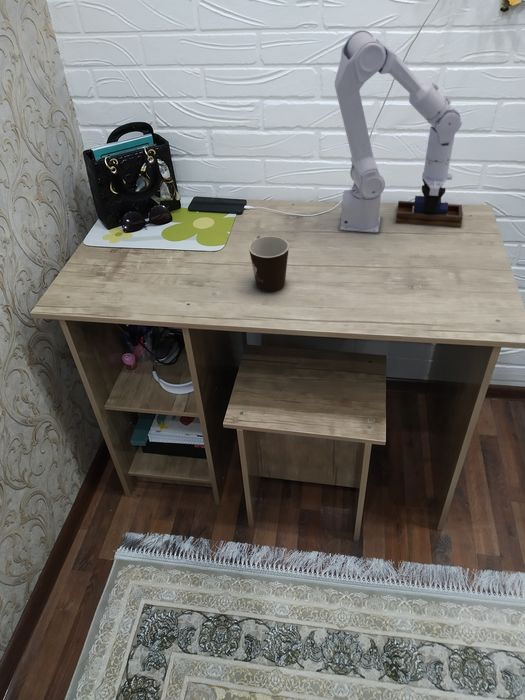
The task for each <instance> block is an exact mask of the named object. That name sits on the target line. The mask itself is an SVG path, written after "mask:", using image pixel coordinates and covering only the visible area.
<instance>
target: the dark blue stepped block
mask: <svg viewBox="0 0 525 700" xmlns="http://www.w3.org/2000/svg"><path fill="white" fill-rule="evenodd" d="M413 202H414V206H413V211H412V212H416V213H426V212H425V199H424V195H415V197H414V201H413ZM448 204H449V203H448V202H442V197H441V198H440V200H439V202H438V204H437V207H436V209H435V211H434V213H429V214H443V215H447V212H448Z"/></svg>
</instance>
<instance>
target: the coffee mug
mask: <svg viewBox="0 0 525 700" xmlns="http://www.w3.org/2000/svg"><path fill="white" fill-rule="evenodd" d="M248 249H249V251H248V252H249V254H250V255H249V256H250V262H251V265H252V266H251V267H252V270H253V276H254V279H255V285H256V288H257V289H258V290H259V291H261V292H263V293H267V294H273V293H277V292H279V291H281V290H283V289H284V287H285V284H286V277H287V268H288V260H289V259H288V258H289V249H290V244H289V241H287V240H286V239H285V238H283V237H281V236H277V235H264V236H260V235H259V236H257V237H256V238H255V239H253V240H252V241H251V242H250V243H249V245H248Z"/></svg>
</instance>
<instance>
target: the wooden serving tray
mask: <svg viewBox="0 0 525 700" xmlns="http://www.w3.org/2000/svg"><path fill="white" fill-rule="evenodd" d="M414 202H415V201H410V200H409V201H407V200H398V202H397V210H396V218H395V223H396V224H405V225H419V226H420V225H421V226H434V227H445V228H446V227H447V228H459V229H460V228H462V221H463V205H462V204H453V203H448V212H447V215H443V214H429V213H416V212H412V211H413V206H414Z"/></svg>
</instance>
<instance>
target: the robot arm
mask: <svg viewBox="0 0 525 700" xmlns="http://www.w3.org/2000/svg"><path fill="white" fill-rule="evenodd" d="M336 72H337V73H336V76H335V79H334V89H335V93H336V98H337V101H338V105H339V109H340V114H341V119H342V122H343V126H344V130H345V134H346V139H347V143H348V146H349V151H350V155H351V158H350V162H351V166H350V172H349V174H350V178H351V179H352V181H353V185H352V186H351V189H344V191H343V193H342V198H341V199H342V201H341V210H340V230H341V231H349V232H360V233H361V232H362V233H373V234H377V233H379V231H380V230H379V229H380V224H381V215H380V208H381V207H380V206H381V196H382V193H383V192H384V190H385V187H386V181H385V179H384V177H383V176H382V175H381V174H380V172H379V167H378V165H377V162H376V159H375V157H374V153H373V149H372V144H371V139H370V136H369V130H368V129H369V128H368V125H367V120H366V115H365V111H364V106H363V102H362V97H361V93H360V90H361V89H362V87H363V86H364V84H365V83H366V82H367V81H369V79H371V78H372V77H373V76H374V75H376V74H377V73H378V74H380V75H385V74H389V75H390V76H391V77H392V78H394V80H395V81H397V83H399V84H400V85H401V86H402V87H403V88H404V89H405V90H406V91H407V92H408V93H409V94H408V96H409V97H408V102H409V104H410V105H411V106H412V107H413V108H414V109H415V110H416V111H417V112H418V113H419V114H420V115H421V116H422V117H423V118H424V119H425V120H426V121H427V123H428V124H430V125H431V126H430V127H429V134H428V142H427V148H426V155H425V160H424V167H423V171H422V174H421V178H422V179H421V180H422V182H423V184H422V185H421V193H422V196H424V199H425V212H426V213H434V211H435V209H436V207H437V204H438V202H439V200H440V198H441V199H442V197H443V196H444V195H445V193H446V187H443V186H444V184H445V183H446V182H447V181H451V180H452V179H453V174H452V173H450V172H449V169H450V163H451V158H452V152H453V146H454V141H455V135H456V134H457V132H458V131H459V130H460V129H461V127H462V125H463V121H462V119H461V114H460V113H459V111H458V110H457V109H456V108H454V106H452V105H451V103H452V101H451V100H450V99H449V97H446V98H445V97H444V96H443V95H442V94H441V92H440V91H439V89H440V87H439V86H438V84H437V83H435V82H432V83H431V82H430V81H428V80H424V81H420V79H419V78H418V77H417V76H416V75H415V74H414V72H413V71H411V69H410V68H409V67H408V66H407V64H405V63H404V61H403V60H402V59H401V58H400V56H398V54H396V53H395V52H394V51H393V49H391V48H390V47H388V46H387V45H386V44H385V43H383V42H382V41H381V40H379V39H378V38H375V37H374V36H373V34H372V33H370V31H368V30H364V29H359V30H355V32H353V33H352V34H351V35H350V36H349V37H348V38H347V40H346V41H345V43H344V44H343V46H342V47H341V54H340V61H339V65H338V68H337V71H336Z"/></svg>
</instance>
